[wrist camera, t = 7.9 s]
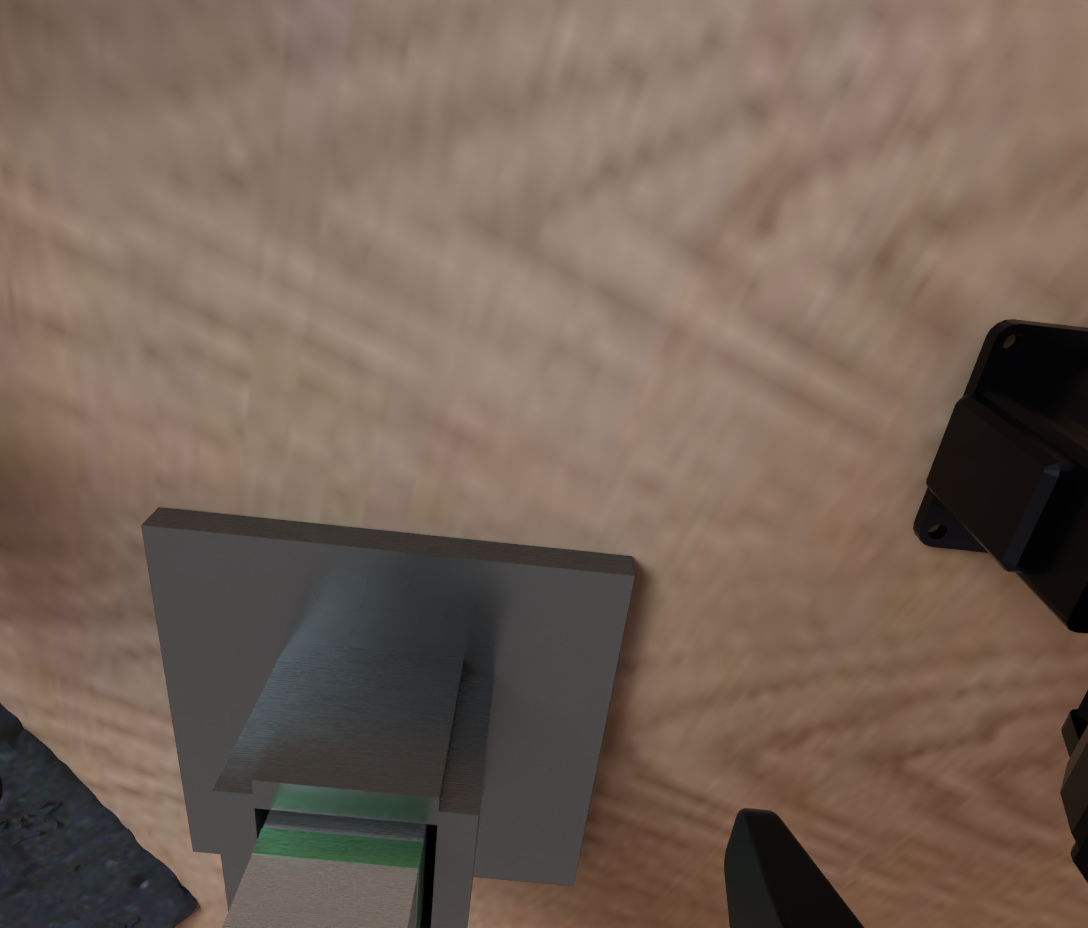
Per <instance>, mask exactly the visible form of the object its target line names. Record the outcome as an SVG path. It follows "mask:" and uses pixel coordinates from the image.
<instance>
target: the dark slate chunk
mask: <svg viewBox="0 0 1088 928" xmlns="http://www.w3.org/2000/svg"><path fill="white" fill-rule="evenodd" d="M0 775H1V778H2V781H3V794H2V798H1V801H0V928H175V926H176V925H177V924H179V923H180V922H181V921H183V920H184V919H186V918H187V917H188V916H190V915H191V914H192V913H193V911H194V910H195V909H196V904H195V901H194V900H193V898H192V896H191V894H190V892H189V891H188V890H187V889H185V888H184V887H182V886H181V884H180V882H179V880H178V879H177V877H176V875H175V874H174V873H173V872H172V871H171V870H170V869H169V868H168V867H167V866H166V865H165V864H164V863H162V862H161V861H160V860H158V859H157V858H155V857H154V856H153V855H152V854H151V853H150V852H148V851H146V850H145V849H143V848H142V847H141V846H140V844H139V843H138V842H137V841H136V839H135V837H134V835H133V833H132V832H131V831H130V830H129V829H127V828H126V827H124V826H123V825H122V824H121V822H120V821H119V819H118V818H117V816H116V815H115V814H114V813H113V812H111V811H110V810H109V809H107V808H106V807H104V806H103V805H102V804H101V803H100V801H99V800H98V799H97V798H96V796H95V795H94V794H93V793H92V792H91V791H90V789H89V788H87V787H86V786H85V785H84V784H83V783H82V782H81V781H80V780H79V779H78V778H77V777H76V775H75V774H74V773H73V772H72V771H71V770H70V768H69V767H68V766H67V765H66V764H65V763H63V762H62V761H60V760H59V759H58V758H57V757H56V756H55V755H54V753H53V752H52V751H51V749H49V748H48V747H47V746H46V745H45V744H43V743H42V742H41V741H40V740H39V739H38V738H36V737H35V736H34V735H33V734H32V733H30V732H29V731H27V730H25V729H24V728H23V726H22V724H21V722H20V721H19V719H18V718H17V717H16V716H15V715H13V714H12V713H10V712H9V711H8V710H7V709H6V708H4V707H3V706H2V704H1V703H0Z"/></svg>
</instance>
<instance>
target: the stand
mask: <svg viewBox="0 0 1088 928" xmlns="http://www.w3.org/2000/svg"><path fill="white" fill-rule="evenodd" d="M141 527H142V533H143V539H144V545H145V552H146V558H147V564H148V571H149V577H150V583H151V590H152V596H153V602H154V608H155V615H156V621H157V627H158V634H159V640H160V646H161V653H162V659H163V665H164V671H165V678H166V684H167V690H168V697H169V703H170V709H171V715H172V722H173V728H174V734H175V741H176V747H177V753H178V760H179V766H180V772H181V778H182V785H183V791H184V797H185V804H186V810H187V816H188V823H189V829H190V835H191V841H192V848H193V852H204V853H215V854H221V860H222V867H223V875H224V882H225V890H226V897H227V905H228V912H229V909H230V907H231V904H232V902H233V899H234V897H235V894H236V892H237V890H238V887H239V885H240V882H241V880H242V877H243V875H244V872H245V870H246V868H247V865H248V863H249V860H250V858H251V855H252V852H253V849H254V847H255V844H256V842H257V839H258V837H259V834H260V832H261V830H262V827H263V826H264V824H265V821H266V819H267V816H268V814H269V811H270V810H279V811H290V812H301V813H311V814H322V815H333V816H344V817H355V818H366V819H376V820H387V821H398V822H409V823H420V824H428V827H427V845H426V863H425V881H424V899H423V913H422V919H421V925H420V928H467V926H468V917H469V909H470V900H471V891H472V882H473V877H480V878H492V879H503V880H514V881H525V882H536V883H547V884H558V885H569V886H574V881H575V875H576V870H577V865H578V860H579V855H580V850H581V845H582V840H583V835H584V830H585V825H586V820H587V815H588V810H589V805H590V800H591V795H592V790H593V785H594V780H595V774H596V769H597V764H598V759H599V754H600V749H601V744H602V739H603V734H604V729H605V724H606V719H607V714H608V709H609V704H610V699H611V694H612V689H613V684H614V678H615V673H616V668H617V663H618V658H619V653H620V648H621V643H622V638H623V633H624V628H625V623H626V618H627V613H628V608H629V603H630V598H631V593H632V588H633V583H634V577H635V574H634V567H633V561H632V556H623V555H613V554H603V553H594V552H584V551H574V550H565V549H555V548H546V547H536V546H526V545H517V544H507V543H497V542H488V541H478V540H468V539H459V538H449V537H439V536H430V535H420V534H410V533H401V532H391V531H381V530H372V529H362V528H352V527H343V526H333V525H324V524H314V523H304V522H295V521H285V520H275V519H266V518H256V517H246V516H237V515H227V514H217V513H208V512H198V511H188V510H179V509H169V508H158V509H157V510H156V511H155V512H154V513H153V514H152V515H151V516H150V517H149V518H148V519H147V520H146V521H145V522H144V523H143V524H142V525H141Z"/></svg>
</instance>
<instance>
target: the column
mask: <svg viewBox="0 0 1088 928" xmlns="http://www.w3.org/2000/svg"><path fill="white" fill-rule="evenodd" d="M427 827H428V824H420V823H409V822H398V821H387V820H376V819H366V818H355V817H344V816H333V815H322V814H311V813H301V812H290V811H279V810H270V811H269V814H268V816H267V819H266V821H265V824H264V826H263V827H262V830H261V832H260V834H259V837H258V839H257V842H256V844H255V847H254V849H253V852H252V855H251V858H250V860H249V863H248V865H247V868H246V870H245V872H244V875H243V877H242V880H241V882H240V885H239V887H238V890H237V892H236V894H235V897H234V899H233V902H232V904H231V907H230V909H229V912H228V914H227V916H226V919H225V921H224V924H223V926H222V928H420V925H421V919H422V913H423V899H424V881H425V863H426V845H427Z"/></svg>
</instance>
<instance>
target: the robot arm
mask: <svg viewBox="0 0 1088 928" xmlns="http://www.w3.org/2000/svg"><path fill="white" fill-rule="evenodd" d="M1012 334H1016V340H1015V341H1014V343H1013V344H1012V345H1011V346H1009V347H1008V348H1003V346H1004V342H1005V340H1006V339H1007V337H1009V336H1010V335H1012ZM926 484H927V485H928V488H927V490H926V493H925V496H924V498H923V501H922V503H921V506H920V508H919V511H918V514H917V516H916V519H915V521H914V526H913V530H914V532H915V534H916V536H917V537H918V538H919V539H920V540H921V542H923V543H924V544H925V545H927V546H931V547H939V548H948V549H958V550H967V551H977V552H986V553H989V554H990V555H991V556H992V557H993V558H994V559H995V560H996V561H997V563H998V564H999V565H1000V566H1001V567H1002V568H1003V569H1004V570H1006V571H1008V572H1015V573H1016V574H1017V575H1018V576H1019V577H1020V578H1021V580H1022V581H1023V582H1024V583H1025V584H1026V585H1027V586H1028V587H1029V588H1030V589H1031V590H1032V591H1033V592H1034V593H1035V594H1036V595H1037V596H1038V597H1039V598H1040V600H1041V601H1042V602H1043V603H1044V604H1045V605H1046V606H1047V607H1048V608H1049V609H1050V610H1051V611H1052V612H1053V613H1054V614H1055V615H1056V616H1057V617H1058V619H1059V620H1060V621H1061V622H1062V623H1063V624H1064V625H1065V626H1066V627H1067V628H1068V629H1069V630H1071V631H1074V632H1078V633H1088V328H1084V327H1075V326H1066V325H1058V324H1049V323H1040V322H1031V321H1023V320H1014V319H1012V320H1004V321H1002V322H1000V323H997V324H996V325H995V326H994V327H993V328H992V329H990V331H989V333H988V334H987V336H986V338H985V341H984V343H983V346H982V349H981V351H980V354H979V356H978V359H977V362H976V364H975V367H974V369H973V372H972V374H971V377H970V380H969V382H968V385H967V387H966V390H965V392H964V395H963V397H962V398H961V399H960V400H959V401H958V402H957V403H956V405H955V408H954V410H953V413H952V415H951V418H950V421H949V423H948V426H947V428H946V431H945V434H944V436H943V439H942V441H941V444H940V447H939V449H938V452H937V454H936V457H935V460H934V462H933V465H932V467H931V470H930V473H929V475H928V478H927V481H926ZM936 524H940V526H939V527H938V529H937V530H935V531H933V532H928V531H929V529H930V528H931V527H932V526H934V525H936ZM1061 732H1062V735H1063V738H1064V741H1065V744H1066V747H1067V750H1068V753H1069V757H1070V759H1069V761H1068V763H1067V767H1066V771H1065V775H1064V779H1063V783H1062V787H1061V792H1060V794H1061V797H1062V801H1063V804H1064V808H1065V811H1066V815H1067V819H1068V822H1069V826H1070V829H1071V833H1072V835H1073V837H1074V839H1075V841H1076V842H1075V844H1074V846H1073V847H1072V850H1071V856H1072V860H1073V862H1074V863H1075V865H1076V866H1077V868H1078V869H1079V871H1080V872H1081V874H1082V875H1083V876H1084V878H1085V879H1086V881H1087V882H1088V691H1087V692H1086V694H1085V696H1084V698H1083V700H1082V702H1081V704H1080V706H1079V708H1078V709H1074V710H1071V711H1070V713H1069V715H1068V717H1067V719H1066V721H1065V723H1064V725H1063V727H1062V731H1061ZM2 794H3V781H2V778H1V775H0V801H1V798H2ZM724 872H725V883H726V893H727V903H728V913H729V923H730V928H864V927H863V926H862V924H861V923H860V922H859V920H858V919H857V918H856V916H855V915H854V914H853V913H852V911H851V910H850V909H849V907H848V906H847V905H846V903H845V902H844V901H843V899H842V898H841V897H840V896H839V894H838V893H837V892H836V890H835V889H834V888H833V886H832V885H831V884H830V882H829V881H828V880H827V879H826V877H825V876H824V875H823V873H822V872H821V871H820V869H819V868H818V867H817V865H816V864H815V863H814V862H813V860H812V859H811V858H810V856H809V855H808V854H807V852H806V851H805V850H804V848H803V847H802V846H801V845H800V843H799V842H798V841H797V839H796V838H795V837H794V835H793V834H792V833H791V832H790V830H789V829H788V828H787V826H786V825H785V824H784V822H783V821H782V820H781V818H780V817H779V816H778V815H777V814H775V813H774V812H772V811H769V810H760V809H749V808H744V809H742V810H740V811H739V813H738V815H737V817H736V820H735V823H734V826H733V830H732V833H731V836H730V839H729V842H728V845H727V849H726V852H725V860H724Z"/></svg>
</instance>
